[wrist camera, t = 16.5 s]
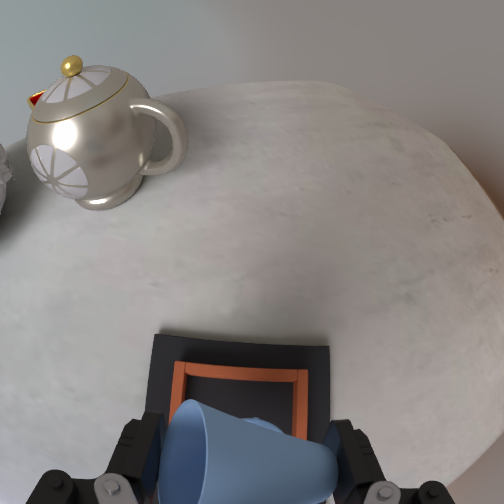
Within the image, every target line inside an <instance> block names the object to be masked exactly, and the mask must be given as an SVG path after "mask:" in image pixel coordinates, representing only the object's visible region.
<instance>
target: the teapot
mask: <svg viewBox="0 0 504 504" xmlns="http://www.w3.org/2000/svg"><path fill="white" fill-rule="evenodd" d="M61 72H62V74H63V76H62V77H60V78H59V79H57V80H56V81H55V82H54V83H53V84H51V85H50V86H49V87H48V88H47V89H46V90H43V91H41V92H39V93H36V94H34V95H32V96H30V97H29V98H28V100H27V102H28V104H29V106H30V108H31V109H32V113H31V116H30V119H29V123H28V128H27V135H26V145H27V153H28V157H29V160H30V163H31V166H32V168H33V170H34V172H35V173H36V175H37V176H38V178H39V179H40V180H41V181H42V182H43V184H45V185H46V186H47V187H48V188H49V189H51V190H52V191H54V192H55V193H57V194H59V195H61V196H64V197H67V198H71V199H75V201H76V202H77V203H78V204H79V205H80V206H81V207H83V208H85V209H88V210H96V211H98V210H106V209H110V208H113V207H115V206H117V205H119V204H121V203H123V202H124V201H126V200H127V199H128V198H130V197H131V196H132V195H133V194H134V193H135V191H136V190H137V189H138V187H139V185H140V183H141V181H142V178H143V175H160V174H165V173H168V172H170V171H172V170H174V169H175V168H177V167H178V166H179V165H180V164H181V163H182V161H183V160H184V158H185V156H186V153H187V149H188V135H187V131H186V128H185V125H184V123H183V121H182V119H181V118H180V116H179V115H178V114H177V113H176V112H175V111H174V110H173V109H172V108H171V107H169V106H168V105H166V104H164V103H162V102H160V101H157V100H154V99H151V98H150V96H149V94H148V93H147V91H146V90H145V88H144V87H143V85H142V84H141V83H140V82H139V81H138V80H137V79H135V78H134V77H133V76H131V75H130V74H129V73H127V72H125V71H123V70H120V69H118V68H115V67H110V66H103V65H95V66H87V67H83V62H82V59H81V58H80V57H78V56H76V55H72V56H69V57H67V58H66V59H65V60H64V61H63V62H62V64H61ZM156 119H158V120H159V121H161V122H162V123H163V124H164V125H165V126H166V127H167V128H168V130H169V132H170V134H171V137H172V148H171V151H170V153H169V155H168V156H167V157H166V158H165V159H163V160H159V161H150V160H149V159H148V157H149V155H150V153H151V150H152V147H153V144H154V140H155V134H156Z"/></svg>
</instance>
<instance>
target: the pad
mask: <svg viewBox="0 0 504 504" xmlns="http://www.w3.org/2000/svg"><path fill="white" fill-rule="evenodd" d="M189 399H193V400H195V401H198V402H200V403H202V404H204V405H207V406H209V407H211V408H214V409H216V410H219V411H221V412H224V413H226V414H229V415H231V416H234V417H236V418H239V419H242V418H254V417H256V418H259V420H264V421H267V422H269V423H271V424H273V425H275V426H276V427H278V428H279V429H280V430H281V431H282V432H283V433H284V434H286V435H290V436H293V437H296V438H300V439H303V440H307V441H311V442H315V443H318V444H323V440H324V438H325V435H326V433H327V430H328V427H329V425H330V354H329V346H299V345H272V344H254V343H239V342H226V341H215V340H204V339H195V338H186V337H177V336H169V335H161V334H155V335H154V342H153V349H152V356H151V363H150V371H149V379H148V387H147V396H146V406H145V410H151V411H156V412H162V413H164V418H165V426H166V432H167V429H168V426H169V424H170V421H171V419H172V417H173V415H174V414H175V412H176V410H177V409H178V407H179V406H180V405H181V404H182V403H183V402H184V401H186V400H189ZM152 504H159V497H158V481H157V485H156V489H155V493H154V497H153V501H152ZM318 504H326V500H324V501H323V502H320V503H318Z"/></svg>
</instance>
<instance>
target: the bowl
mask: <svg viewBox="0 0 504 504" xmlns="http://www.w3.org/2000/svg"><path fill="white" fill-rule="evenodd" d="M6 157H8V155H7V153H6V152H5V150H4V148H3V147H2V145H1V144H0V215H1V210H2V207H3V204H4V201H5V198H6V185H7V181H8V180H9V179H10V178H11V177H12V178H13V179H14V180H15V178H14V177H15V175H14V170H13V168H12V167H11V166H10V163H9V162H8V160H7V159H6ZM7 164H8V165H7ZM8 168H9V169H8ZM13 176H14V177H13ZM15 181H16V180H15Z"/></svg>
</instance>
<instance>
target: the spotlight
mask: <svg viewBox="0 0 504 504" xmlns="http://www.w3.org/2000/svg"><path fill="white" fill-rule="evenodd" d="M337 481H338V463H337V459H336V457H335V455H334V454H333V452H332V451H331V450H330V449H329V448H328V447H327V446H325V445H322V444H318V443H315V442H311V441H307V440H303V439H300V438H296V437H293V436H290V435H286V434H284V433H283V432H282V431H281V430H280V429H279V428H278V427H276V426H275V425H273V424H271V423H269V422H267V421H264V420H259V418H256V417H254V418H242V419H239V418H236V417H234V416H231V415H229V414H226V413H224V412H221V411H219V410H216V409H214V408H211V407H209V406H207V405H204V404H202V403H200V402H198V401H195V400H193V399H189V400H186V401H184V402H183V403H182V404H181V405H180V406H179V407H178V409H177V410H176V412H175V414H174V415H173V417H172V419H171V421H170V424H169V426H168V429H167V432H166V434H165V438H164V441H163V445H162V450H161V455H160V463H159V472H158V497H159V504H318V503H320V502H323V501H324V500H326V499H327V498H328V497H329V496H330V495H331V494H332V493H333V491H334V489H335V487H336V485H337Z"/></svg>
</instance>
